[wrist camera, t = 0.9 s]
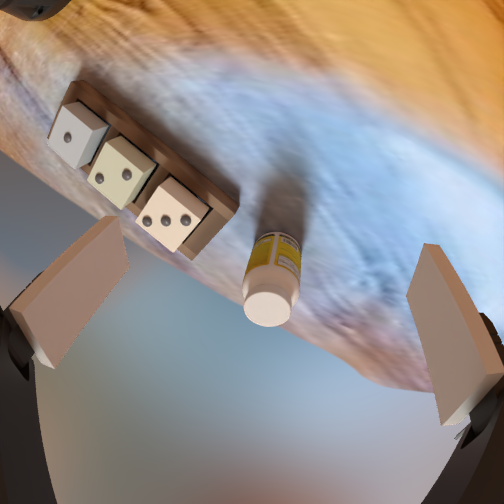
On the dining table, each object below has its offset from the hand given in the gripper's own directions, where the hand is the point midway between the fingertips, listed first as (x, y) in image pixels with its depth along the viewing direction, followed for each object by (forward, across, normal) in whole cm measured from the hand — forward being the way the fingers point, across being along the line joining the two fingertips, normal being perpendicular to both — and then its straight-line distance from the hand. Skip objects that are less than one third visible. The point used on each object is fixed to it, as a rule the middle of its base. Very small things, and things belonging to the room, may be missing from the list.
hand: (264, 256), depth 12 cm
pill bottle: (+23, -1, -14) cm, 27 cm away
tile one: (+20, -25, +3) cm, 32 cm away
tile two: (+20, -19, -3) cm, 28 cm away
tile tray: (+23, -19, -3) cm, 30 cm away
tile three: (+20, -13, -8) cm, 25 cm away
